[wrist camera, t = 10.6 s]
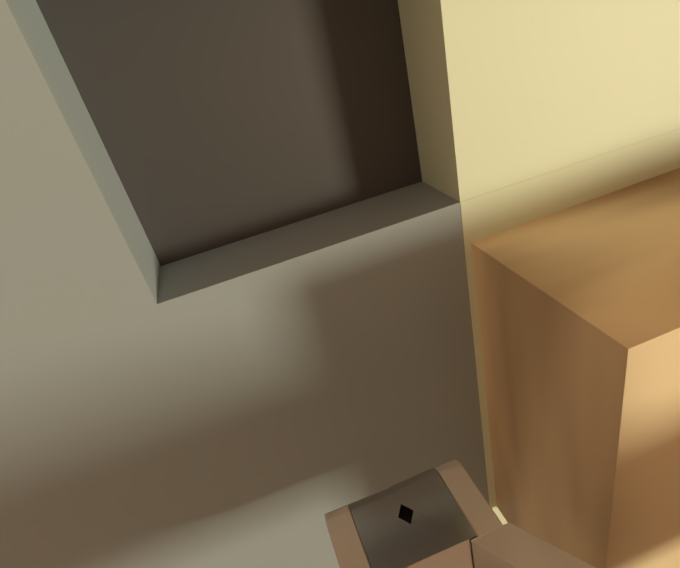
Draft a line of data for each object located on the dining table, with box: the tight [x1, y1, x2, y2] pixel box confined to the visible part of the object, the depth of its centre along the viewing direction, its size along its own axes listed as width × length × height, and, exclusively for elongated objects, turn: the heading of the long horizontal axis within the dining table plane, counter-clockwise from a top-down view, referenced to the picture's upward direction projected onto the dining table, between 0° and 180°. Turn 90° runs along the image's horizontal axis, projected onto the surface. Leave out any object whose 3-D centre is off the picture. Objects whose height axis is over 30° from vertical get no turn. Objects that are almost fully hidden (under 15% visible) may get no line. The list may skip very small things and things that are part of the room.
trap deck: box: [0, 0, 680, 568], centre depth 12 cm, size 27×23×4 cm
